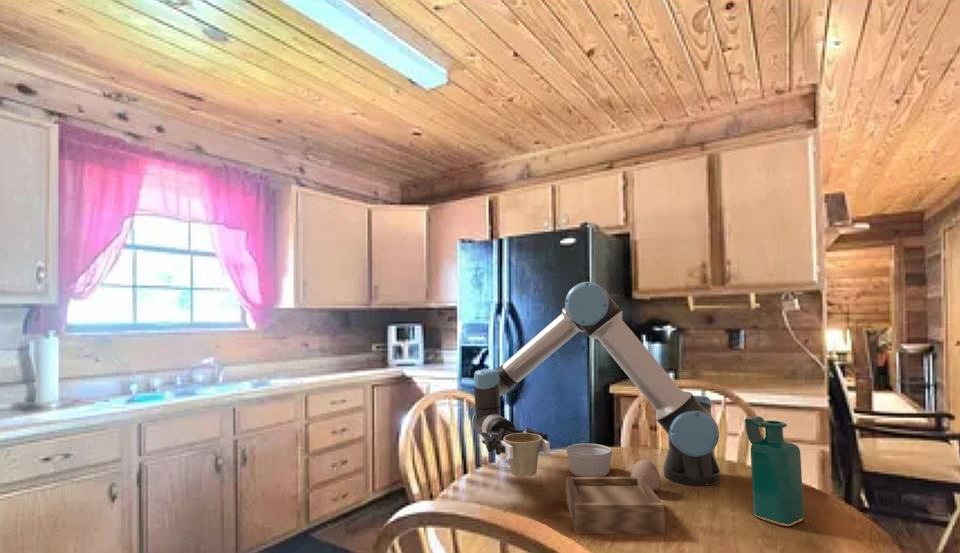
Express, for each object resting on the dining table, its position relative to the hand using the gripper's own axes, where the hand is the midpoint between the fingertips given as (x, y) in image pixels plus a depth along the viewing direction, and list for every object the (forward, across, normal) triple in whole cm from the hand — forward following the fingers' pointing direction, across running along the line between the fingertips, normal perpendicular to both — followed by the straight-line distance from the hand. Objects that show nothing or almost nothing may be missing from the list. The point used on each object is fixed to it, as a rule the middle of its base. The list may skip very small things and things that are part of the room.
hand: (530, 450), depth 125 cm
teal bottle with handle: (+19, -52, -16) cm, 58 cm away
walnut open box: (+6, -18, -16) cm, 25 cm away
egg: (-5, -34, -16) cm, 38 cm away
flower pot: (-5, 0, -7) cm, 8 cm away
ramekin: (-25, -29, -16) cm, 42 cm away
